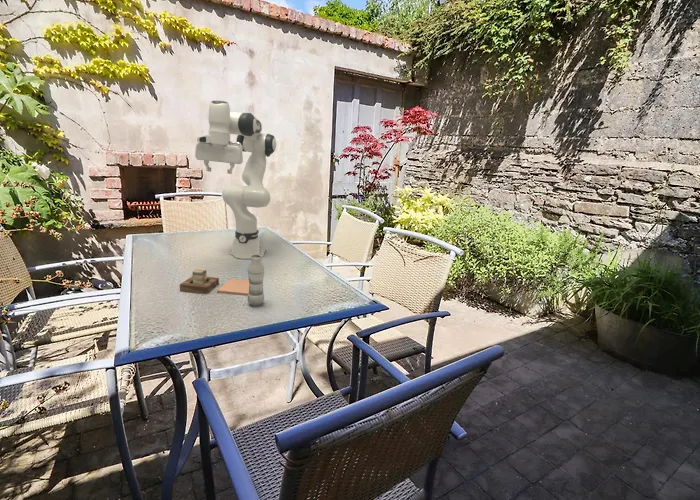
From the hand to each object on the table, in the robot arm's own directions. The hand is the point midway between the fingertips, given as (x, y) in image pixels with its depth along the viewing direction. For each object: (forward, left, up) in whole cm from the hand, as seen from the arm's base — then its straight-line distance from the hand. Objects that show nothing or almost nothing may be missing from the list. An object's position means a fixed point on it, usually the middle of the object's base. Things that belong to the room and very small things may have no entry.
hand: (219, 172), depth 157 cm
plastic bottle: (+29, +27, -48) cm, 62 cm away
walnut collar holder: (+19, -1, -48) cm, 51 cm away
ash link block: (+19, -1, -48) cm, 51 cm away
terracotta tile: (+15, +15, -48) cm, 52 cm away
